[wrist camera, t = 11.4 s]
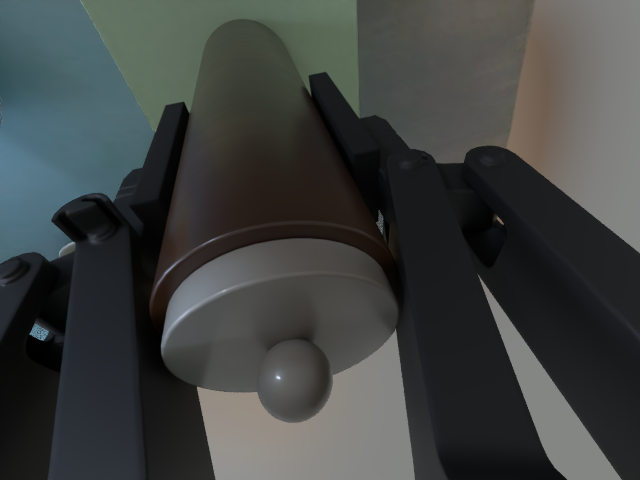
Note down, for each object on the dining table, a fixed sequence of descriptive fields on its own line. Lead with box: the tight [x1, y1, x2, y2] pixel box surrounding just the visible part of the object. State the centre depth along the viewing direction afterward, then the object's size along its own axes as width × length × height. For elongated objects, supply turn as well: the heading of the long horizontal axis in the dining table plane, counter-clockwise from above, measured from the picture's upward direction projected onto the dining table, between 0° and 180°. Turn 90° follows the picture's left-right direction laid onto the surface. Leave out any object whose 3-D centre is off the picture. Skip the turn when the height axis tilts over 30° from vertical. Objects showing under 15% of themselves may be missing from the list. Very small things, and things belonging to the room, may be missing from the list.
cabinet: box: [80, 0, 360, 132], centre depth 21 cm, size 19×14×9 cm
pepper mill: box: [149, 19, 400, 423], centre depth 11 cm, size 5×5×19 cm
